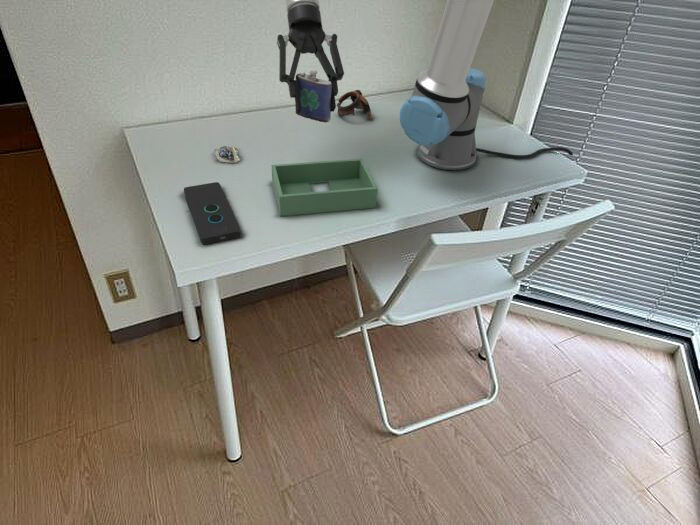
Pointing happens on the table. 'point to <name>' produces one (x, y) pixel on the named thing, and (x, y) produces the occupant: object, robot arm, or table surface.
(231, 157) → the geode half
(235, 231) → the smart home device
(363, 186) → the open box
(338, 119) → the table surface
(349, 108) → the brown looped sculpture
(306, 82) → the flask
